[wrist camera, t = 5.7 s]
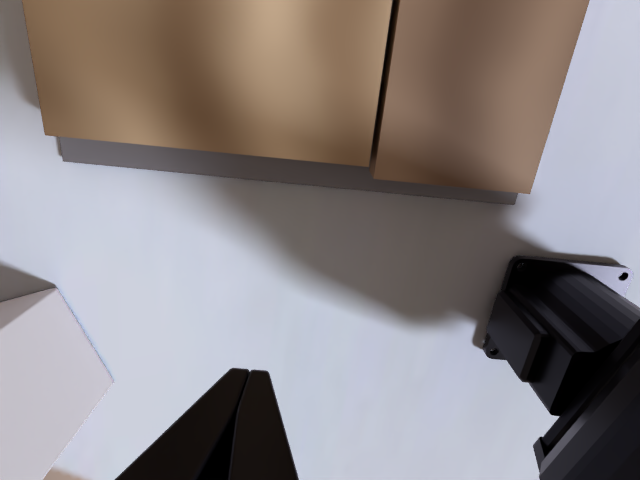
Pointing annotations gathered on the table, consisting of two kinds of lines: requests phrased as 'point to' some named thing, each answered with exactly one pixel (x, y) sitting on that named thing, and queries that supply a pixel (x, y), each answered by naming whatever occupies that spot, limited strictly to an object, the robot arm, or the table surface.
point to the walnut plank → (472, 90)
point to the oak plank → (213, 74)
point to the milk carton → (43, 383)
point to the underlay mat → (262, 167)
